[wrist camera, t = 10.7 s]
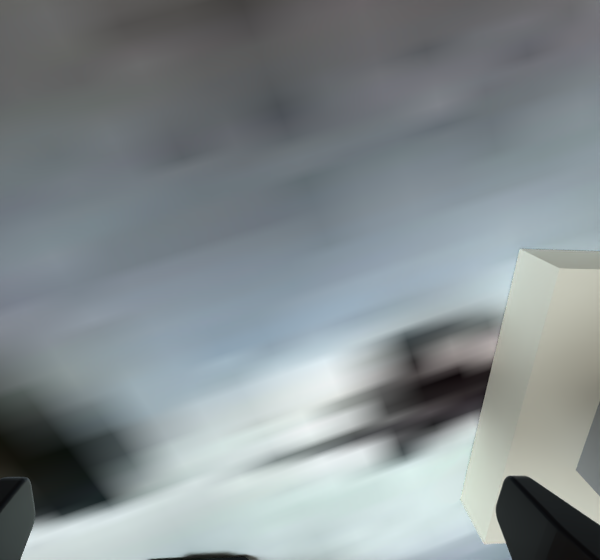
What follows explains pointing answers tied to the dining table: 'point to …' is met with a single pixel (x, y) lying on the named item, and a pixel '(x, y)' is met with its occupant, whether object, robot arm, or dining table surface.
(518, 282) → the base block
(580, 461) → the grey cube
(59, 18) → the dining table surface
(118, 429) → the dining table surface
